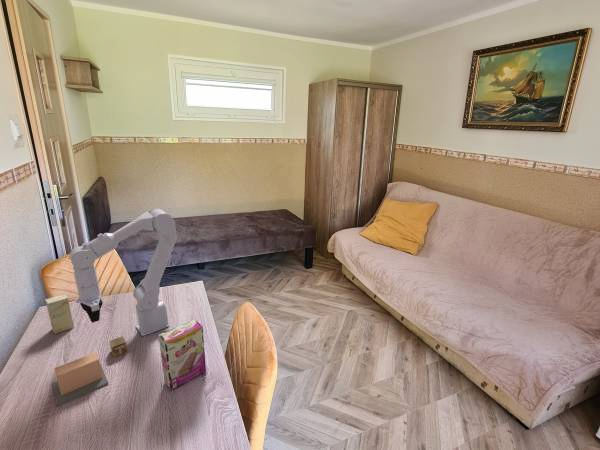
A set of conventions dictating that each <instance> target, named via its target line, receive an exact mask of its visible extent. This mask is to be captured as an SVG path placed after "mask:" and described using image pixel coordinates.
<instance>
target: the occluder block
mask: <svg viewBox="0 0 600 450" xmlns="http://www.w3.org/2000/svg"><path fill="white" fill-rule="evenodd" d="M100 364H101V363H100V358H99V355H98V353H97V351H96V352H93V353H91V354H87V355H85V356H82V357H79V358H77V359H74V360H72V361H70V362H67V363H64V364H62V365H58V366H57V367H54V373H55V378H56V382H57V381H58V385H59V389H60V392H61V396H62V395H64V394H66V393H69V392H71V391H73V390H76V389H78V388H80V387H83V386H85V385H87V384H89V383H92V382H94V381H96V380H99V379H101V378H103V376H102V371H101V367H100Z"/></svg>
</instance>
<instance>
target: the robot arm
mask: <svg viewBox="0 0 600 450" xmlns="http://www.w3.org/2000/svg"><path fill="white" fill-rule="evenodd" d="M176 223H177V222H176V221H175V220H174V218H173V217H172V216H171V214H169V213H167V212H165V211H164V210H163V209H161V208H159V207H155V208H151V209H150V210H149V211H145V212H143V213H141V215H139V216H138V217H136V218H134V219H133V220H131V221H130V222H128V223H127V224H126V225H124V226H122V227H121V228H119V229H118V230H116V231H114V232H112V233H111V232H110V233H109V232H104V233H99V234H97V237H95V238H94V239H92V240H89V241H88V242H87V243H86V242H84V243H82V244H81V246H80V245H78V246H76V247H74V248H73V249H72V250H71V251H70V252H69V260H70V261H71V264H72V265H73V266H72V269H73V275H74V280H75V286H76V289H77V292H78V293H77V294H78V297H77V298H75V299H74V301H75V303H76V304H79V303H80V306H81V308H82V309H83V311H84V312H85V313H86V314H87V316H88V318H89V320H90V322H91V323H92V324H93V323H96V322H99V321H100V318H101V308H102V306H103V303H104V302H103V299H102V293H101V289H100V284H99V279H98V275H97V270H96V267H95V261H96V260H98V259H100V258H101V257H104V256H105V255H107V254H108V253H110V252H113V250H115V249H117V248H118V245H119V243H120V242H122V241H123V240H126V239H127V238H129V237H132V236H133V235H135V234H137V233H138V232H141V231H152V232H153V231H154V229H155V230H156V233H157V234H158V236H159V237H160V238H159V240H158V243H157V245H156V248H155V250H154V253H153V255H152V258H151V260H150V264H149V266H148V268H147V271H146V274H145V277H144V278H143V279H141V280H140V282H139V284H138V285H137V286H136V287H135V288H134V289H133V293H132V295H133V298H134V299H135V300H136V306H135V311H136V317H137V323H138V324H136V325H135V328H136V329H137V331H138V332H139V334H140V335H141V336H142V337H145V336H147V335H149V334H153V333H155V332H158V331H160V330H162V329H165V328H167V327H169V326H170V324H169V320H168V311H167V307H166V304H165V303H164V300H159V295H160V293H161V290H160V282H161V280H162V277H163V275H164V272H165V270H166V267H167V265H168V262H169V260H170V257H171V254H172V252H173V250H174V247H175V245H176V241H177V240H178V233H177V229H176Z"/></svg>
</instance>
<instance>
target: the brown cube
mask: <svg viewBox="0 0 600 450" xmlns="http://www.w3.org/2000/svg"><path fill="white" fill-rule="evenodd" d="M109 346H110V350H111V354H112V356H113V358H117V357H118V356H122V355H124V354H126V353H128V352H129V351H128V347H127V346H128V345H127V341H126V340H125V337H124V336H123V335H122V336H120V337H117V338H113V339H110V340H109Z"/></svg>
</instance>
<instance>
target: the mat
mask: <svg viewBox="0 0 600 450" xmlns="http://www.w3.org/2000/svg"><path fill="white" fill-rule="evenodd" d="M100 367H101V371H102V376H103V378H101V379H99V380H96V381H94V382H92V383H89V384H87V385H85V386H83V387H80V388H78V389H76V390H73V391H71V392H69V393H66V394H64V395H62V396H61V392H60V389H59V385H58V381H57V380H56V381H54V382H52V386H53V391H54V397H55V401H56V407H60V406H62V405H64V404H66V403H68V402H71V401H73V400H75V399H78V398H80V397H82V396H84V395H86V394H89V393H92V392H93V391H95V390H98V389H101V388H102V387H105V386H107V385H109V381H108V378H107V377H106V374H105V371H104V369H103V367H102V364H101V363H100Z"/></svg>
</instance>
